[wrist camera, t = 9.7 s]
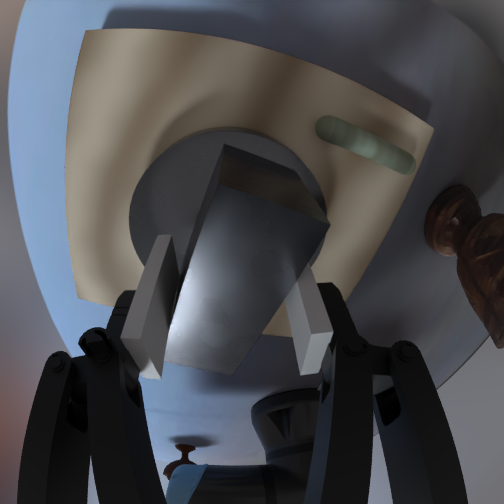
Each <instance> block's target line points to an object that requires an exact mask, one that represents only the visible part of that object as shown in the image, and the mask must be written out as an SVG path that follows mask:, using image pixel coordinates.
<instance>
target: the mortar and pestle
mask: <svg viewBox="0 0 504 504" xmlns="http://www.w3.org/2000/svg"><path fill="white" fill-rule="evenodd" d="M425 239H426V243H427V244H428V246H429V247H430V248H431V249H432V250H433V251H435V252H436V253H438V254H441V255H444V256H446V257H452V256H456V255H457V256H458V259H457V274H458V277H459V280H460V282H461V285H462V287H463V289H464V291H465V293H466V296H467V298H468V300H469V302H470V304H471V306H472V308H473V309H474V311H475V312H476V314H477V315H478V317H479V318H480V320H481V321H482V322H483V323H484V326H485V328H486V329H487V331H488V332H489V334H490V336H491V338H492V340H493V342H494V343H495V345H496V347H497V348H499V349H500V348H504V214H500V213H492V214H489V215H487V216H484V217H483V216H482V215H481V209H480V206H479V205H478V201H477V200H476V197H475V196H474V194H473V193H472V191H471V190H470V189H469V188H467V187H466V186H463V185H458V186H455V187H452V188H450V189H448V190H447V191H445V192H444V193H442V194H441V195H440V196H439V197H438V198H437V199H436V200H435V201H434V204H433V205H432V206H431V208H430V209H429V211H428V214H427V217H426V223H425Z"/></svg>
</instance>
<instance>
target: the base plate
mask: <svg viewBox="0 0 504 504" xmlns="http://www.w3.org/2000/svg"><path fill="white" fill-rule="evenodd" d="M215 127H242V128H248V129H253V130H256V131H259V132H262V133H265V134H267V135H269V136H271V137H273V138H275V139H277V140H279V141H280V142H282V143H283V144H285V145H286V146H288V147H289V148H290V149H291V150H292V151H293V152H294V153H295V154H296V155H297V156H298V157H299V158H300V159H301V160H302V161H303V163H304V164H305V165H306V166H307V167H308V169H309V170H310V171H311V172H312V174H313V175H314V177H315V179H316V180H317V182H318V184H319V186H320V188H321V191H322V193H323V196H324V199H325V204H326V208H327V219H328V221H329V222H330V224H331V226H330V228H329V230H328V231H327V233H326V236H325V240H324V244H323V246H322V249H321V252H320V254H319V256H318V257H317V259H316V261H315V263H314V264H313V266H312V267H311V269H312V272H313V275H314V278H315V280H316V283H325V282H332V283H333V284H334V285H335V286H336V287H337V288H338V289H339V290H340V292H341V294H342V297H343V300H344V301H345V302H346V301H347V299H348V298H349V296H350V294H351V293H352V291H353V290H354V288H355V287H356V285H357V283H358V282H359V280H360V279H361V277H362V275H363V274H364V272H365V270H366V269H367V267H368V265H369V264H370V262H371V260H372V259H373V257H374V255H375V253H376V252H377V250H378V248H379V246H380V245H381V243H382V241H383V239H384V237H385V236H386V234H387V232H388V230H389V228H390V226H391V224H392V223H393V221H394V219H395V217H396V215H397V213H398V211H399V209H400V207H401V205H402V203H403V201H404V199H405V197H406V195H407V193H408V190H409V188H410V186H411V184H412V182H413V180H414V178H415V175H416V173H417V171H418V169H419V166H420V164H421V162H422V159H423V157H424V154H425V152H426V150H427V147H428V145H429V142H430V140H431V137H432V134H433V132H434V128H433V127H431V126H430V125H428V124H427V123H425V122H424V121H422V120H421V119H419V118H418V117H416V116H415V115H413V114H412V113H410V112H409V111H407V110H405V109H404V108H402V107H400V106H399V105H397V104H395V103H394V102H392V101H390V100H388V99H387V98H385V97H383V96H381V95H380V94H378V93H376V92H374V91H372V90H370V89H368V88H366V87H364V86H362V85H360V84H358V83H356V82H354V81H352V80H350V79H348V78H346V77H343V76H341V75H339V74H337V73H334V72H332V71H330V70H327V69H325V68H322V67H320V66H317V65H315V64H312V63H309V62H307V61H304V60H301V59H298V58H296V57H293V56H290V55H287V54H283V53H280V52H277V51H274V50H270V49H267V48H263V47H260V46H256V45H252V44H248V43H244V42H240V41H235V40H230V39H226V38H220V37H215V36H209V35H203V34H196V33H189V32H180V31H170V30H157V29H98V30H86V31H85V34H84V38H83V41H82V45H81V49H80V53H79V57H78V61H77V66H76V71H75V76H74V81H73V87H72V93H71V99H70V106H69V115H68V124H67V136H66V153H65V200H66V218H67V230H68V240H69V248H70V256H71V263H72V269H73V275H74V281H75V287H76V292H77V297H78V298H80V299H84V300H87V301H91V302H95V303H99V304H102V305H106V306H110V307H114V306H115V303H116V301H117V298H118V297H119V296H120V295H121V294H122V293H123V292H124V290H136V289H137V287H138V284H139V281H140V279H141V276H142V273H143V271H144V268H145V267H144V266H143V264H142V263H141V261H140V259H139V257H138V255H137V254H136V251H135V249H134V246H133V243H132V240H131V236H130V230H129V209H130V203H131V200H132V196H133V193H134V190H135V188H136V186H137V184H138V182H139V180H140V178H141V177H142V175H143V174H144V172H145V171H146V170H147V168H148V167H149V166H150V165H151V164H152V163H153V162H154V160H155V159H156V158H157V157H158V156H159V155H160V154H161V153H162V152H163V151H165V150H166V149H167V148H168V147H169V146H171V145H172V144H173V143H175V142H176V141H178V140H180V139H181V138H183V137H185V136H187V135H190V134H192V133H195V132H197V131H201V130H205V129H208V128H215ZM262 334H266V335H275V336H285V337H292V332H291V327H290V323H289V318H288V313H287V308H286V304H285V300H284V301H283V303H282V304H281V306H280V307H279V309H278V310H277V312H276V313H275V315H274V316H273V318H272V319H271V321H270V322H269V324H268V325H267V327H266V328H265V329H264V331H263V332H262Z"/></svg>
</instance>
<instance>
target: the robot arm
mask: <svg viewBox="0 0 504 504" xmlns="http://www.w3.org/2000/svg"><path fill="white" fill-rule="evenodd" d="M179 278H180V274H179V269H178V264H177V259H176V254H175V249H174V243H173V238H172V234H169V235H158V236H157V238H156V241H155V243H154V245H153V248H152V250H151V253H150V255H149V258H148V260H147V263H146V265H145V268H144V271H143V273H142V276H141V279H140V281H139V284H138V287H137V289H136V290H124V292H123V293H122V294H121V295H120V296H119V297H118V298H117V301H116V303H115V306H114V309H113V311H112V316H110V319H109V322H108V324H107V327H106V329H104V328H101V327H95V328H92V329H89V330H87V331H86V332H85V333H83V335H82V336H81V337H80V339H79V343H78V344H79V346H80V347H81V349H82V350H83V352H84V353H85V354H86V355H84V356H79V357H73V358H71V357H70V356H69V355H68V354H67V353H66V352H64V351H57V352H55V353H53V354H52V355H51V356H50V357H49V358H48V360H47V361H46V364H45V366H44V369H43V372H42V376H41V378H40V381H39V384H38V388H37V391H36V395H35V398H34V401H33V405H32V409H31V413H30V416H29V421H28V425H27V430H26V434H25V439H24V445H23V450H22V456H21V463H20V471H19V480H18V495H17V504H87V497H88V496H87V494H88V478H89V477H88V476H89V466H90V456H91V460H92V467H93V473H94V479H95V485H96V489H97V495H98V499H99V504H368V495H369V487H370V477H371V465H372V449H373V448H372V447H373V411H374V414H375V418H376V422H377V426H378V430H379V434H380V439H381V443H382V448H383V452H384V457H385V462H386V466H387V471H388V477H389V482H390V488H391V493H392V499H393V504H468V500H467V494H466V489H465V484H464V479H463V474H462V470H461V466H460V462H459V458H458V454H457V451H456V447H455V444H454V440H453V437H452V433H451V431H450V427H449V424H448V421H447V418H446V415H445V412H444V409H443V407H442V404H441V401H440V399H439V396H438V393H437V390H436V388H435V385H434V383H433V380H432V378H431V375H430V373H429V371H428V368H427V366H426V363H425V361H424V359H423V357H422V354H421V352H420V350H419V349H418V347H417V346H416V345H415V344H413V343H412V342H409V341H406V340H400V341H398V342H395V344H394V345H393V346H392V347H391V348H387V347H379V346H374V345H370V344H369V343H368V342H367V341H366V340H365V339H364V338H362V337H361V336H359V334H358V333H357V330H356V328H355V325H354V323H353V320H352V318H351V316H350V313H349V311H348V308H347V307H346V304H345V301H344V300H343V297H342V294H341V292H340V290H339V289H338V288H337V287H336V286H335V285H334V284H333V283H332V282H325V283H316V280H315V278H314V275H313V272H312V269H311V267H310V264H309V262H308V264H307V266H306V267H305V269H304V270H303V272H302V273H301V275H300V277H299V278H298V280H297V281H296V283H295V284H294V286H293V287H292V289H291V291H290V292H289V294H288V295H287V297H286V298H285V304H286V308H287V313H288V318H289V323H290V327H291V332H292V337H293V342H294V347H295V352H296V357H297V362H298V367H299V372H300V375H307V374H314V373H319V370H320V368H322V372H323V377H322V380H321V382H320V384H319V387H318V389H304V390H297V391H291V392H286V393H282V394H278V395H275V396H272V397H269V398H267V399H264V400H262V401H260V402H259V403H257V404H256V405H255V406H254V407H253V408H252V410H251V418H252V424H253V426H254V428H255V431H256V433H257V435H258V437H259V439H260V441H261V443H262V445H263V447H264V449H265V454H266V465H242V466H225V465H208V464H204V465H191V464H183V465H180V466H178V467H177V468H176V469H175V470H174V471H173V473H172V475H171V478H170V481H169V485H168V488H167V493H166V498H165V496H164V492H163V489H162V486H161V482H160V478H159V475H158V471H157V467H156V463H155V459H154V455H153V450H152V446H151V441H150V436H149V431H148V426H147V421H146V415H145V409H144V402H143V396H142V389H141V385H140V382H139V381H138V378H139V373H140V372H141V374H142V376H143V377H144V378H152V379H161V377H162V370H163V363H164V357H165V351H166V345H167V339H168V333H169V328H170V322H171V317H172V312H173V307H174V302H175V297H176V292H177V287H178V283H179Z"/></svg>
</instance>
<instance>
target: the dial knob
mask: <svg viewBox="0 0 504 504" xmlns="http://www.w3.org/2000/svg"><path fill="white" fill-rule="evenodd" d="M330 226H331V224H330V222H329V221H328V219H327V208H326V204H325V199H324V196H323V193H322V191H321V188H320V186H319V184H318V182H317V180H316V179H315V177H314V175H313V174H312V172H311V171H310V170H309V169H308V167H307V166H306V165H305V164H304V163H303V161H302V160H301V159H300V158H299V157H298V156H297V155H296V154H295V153H294V152H293V151H292V150H291V149H290V148H289V147H288V146H286V145H285V144H283V143H282V142H280V141H279V140H277V139H275V138H273V137H271V136H269V135H267V134H265V133H262V132H259V131H256V130H253V129H248V128H242V127H215V128H208V129H205V130H201V131H197V132H195V133H192V134H190V135H187V136H185V137H183V138H181V139H180V140H178V141H176V142H175V143H173V144H172V145H171V146H169V147H168V148H167V149H166V150H165V151H163V152H162V153H161V154H160V155H159V156H158V157H157V158H156V159H155V160H154V162H153V163H152V164H151V165H150V166H149V167H148V168H147V170H146V171H145V172H144V174H143V175H142V177H141V178H140V180H139V182H138V184H137V186H136V188H135V190H134V193H133V196H132V200H131V203H130V209H129V230H130V236H131V240H132V243H133V246H134V249H135V251H136V254H137V255H138V257H139V259H140V261H141V263H142V264H143V266H144V267H145V265H146V263H147V260H148V258H149V255H150V253H151V250H152V248H153V245H154V243H155V241H156V238H157V236H158V235H169V234H172V238H173V243H174V249H175V254H176V259H177V264H178V269H179V274H180V278H179V283H178V287H177V292H176V297H175V302H174V307H173V312H172V317H171V322H170V328H169V333H168V339H167V345H166V351H165V357H164V361H165V362H169V363H174V364H178V365H182V366H187V367H192V368H197V369H202V370H207V371H212V372H218V373H223V374H229V375H232V374H233V373H234V372H235V370H236V369H237V368H238V366H239V365H240V364H241V362H242V361H243V359H244V358H245V357H246V355H247V354H248V352H249V351H250V350H251V348H252V347H253V345H254V344H255V342H256V341H257V340H258V338H259V337H260V335H261V334H262V332H263V331H264V329H265V328H266V327H267V325H268V324H269V322H270V321H271V319H272V318H273V316H274V315H275V313H276V312H277V310H278V309H279V307H280V306H281V304H282V303H283V301H284V300H285V298H286V297H287V295H288V294H289V292H290V291H291V289H292V287H293V286H294V284H295V283H296V281H297V280H298V278H299V277H300V275H301V273H302V272H303V270H304V269H305V267H306V266H307V264H308V262H309V264H310V267H312V266H313V264H314V263H315V261H316V259H317V257H318V256H319V254H320V252H321V249H322V246H323V244H324V240H325V236H326V233H327V231H328V230H329V228H330Z"/></svg>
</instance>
